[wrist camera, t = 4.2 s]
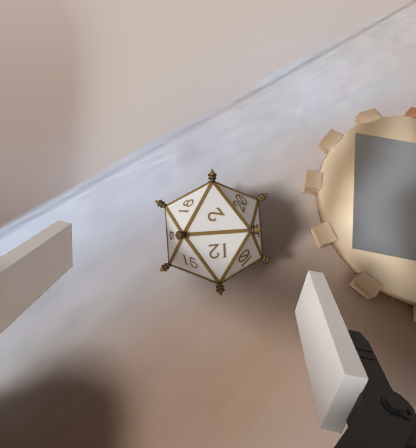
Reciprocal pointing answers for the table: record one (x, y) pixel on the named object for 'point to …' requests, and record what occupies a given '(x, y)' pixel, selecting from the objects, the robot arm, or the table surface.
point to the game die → (213, 232)
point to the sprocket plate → (371, 203)
